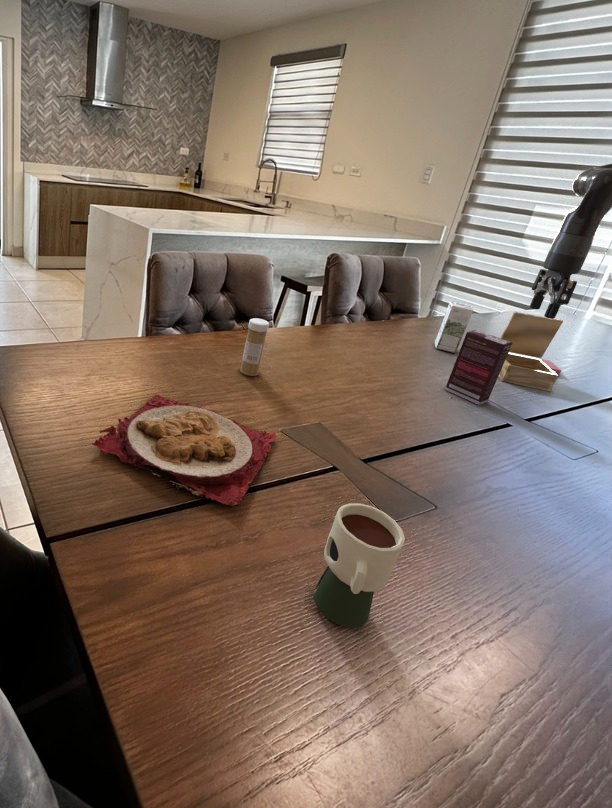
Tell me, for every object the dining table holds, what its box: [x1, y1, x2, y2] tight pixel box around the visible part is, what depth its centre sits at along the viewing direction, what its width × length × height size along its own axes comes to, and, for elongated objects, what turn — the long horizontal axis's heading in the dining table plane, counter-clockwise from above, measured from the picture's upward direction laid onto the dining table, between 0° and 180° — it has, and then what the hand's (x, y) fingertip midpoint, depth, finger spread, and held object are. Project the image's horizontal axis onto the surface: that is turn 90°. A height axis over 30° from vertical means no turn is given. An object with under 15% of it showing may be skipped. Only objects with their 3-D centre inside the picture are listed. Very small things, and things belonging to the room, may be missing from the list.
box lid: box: [500, 311, 564, 359], centre depth 131 cm, size 12×12×1 cm
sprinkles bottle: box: [239, 317, 270, 377], centre depth 112 cm, size 5×5×14 cm
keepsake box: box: [498, 352, 559, 392], centre depth 131 cm, size 12×12×5 cm
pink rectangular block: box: [536, 357, 562, 378], centre depth 139 cm, size 8×4×2 cm, turn 163°
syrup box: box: [434, 300, 474, 354], centre depth 144 cm, size 6×6×14 cm
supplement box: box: [444, 329, 513, 406], centre depth 113 cm, size 9×5×16 cm, turn 34°
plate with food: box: [91, 394, 277, 507], centre depth 83 cm, size 24×26×4 cm
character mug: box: [313, 502, 406, 629], centre depth 54 cm, size 11×7×13 cm, turn 155°
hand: (541, 313), depth 124 cm, fingers open, 8 cm apart
